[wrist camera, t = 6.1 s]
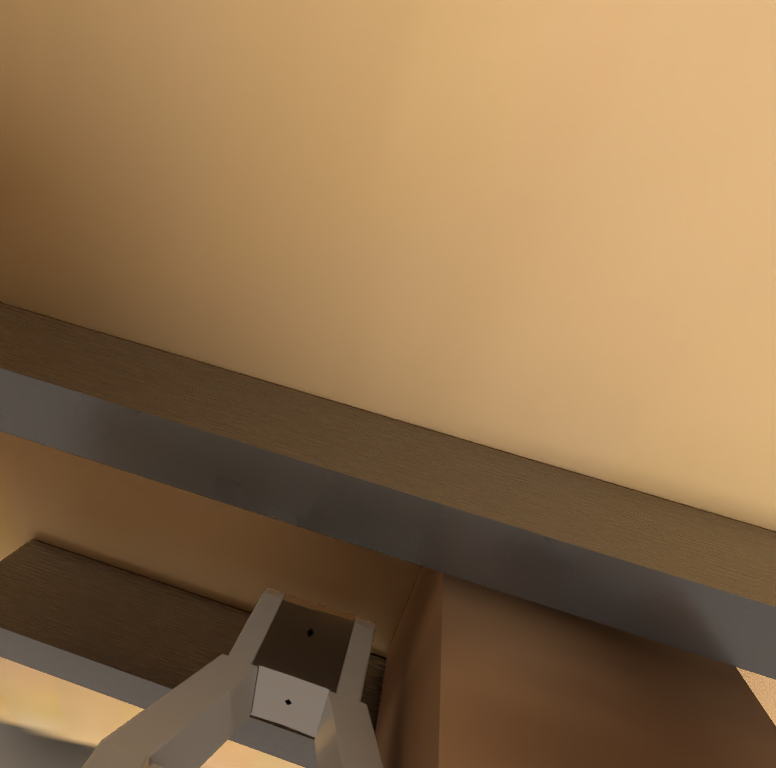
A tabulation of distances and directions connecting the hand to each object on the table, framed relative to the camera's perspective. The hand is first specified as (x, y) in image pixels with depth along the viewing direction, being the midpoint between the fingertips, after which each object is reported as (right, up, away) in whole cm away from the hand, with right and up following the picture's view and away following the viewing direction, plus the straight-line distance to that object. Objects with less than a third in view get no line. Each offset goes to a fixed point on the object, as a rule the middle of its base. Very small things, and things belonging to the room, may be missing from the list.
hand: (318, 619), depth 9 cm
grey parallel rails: (+1, +1, +1) cm, 2 cm away
